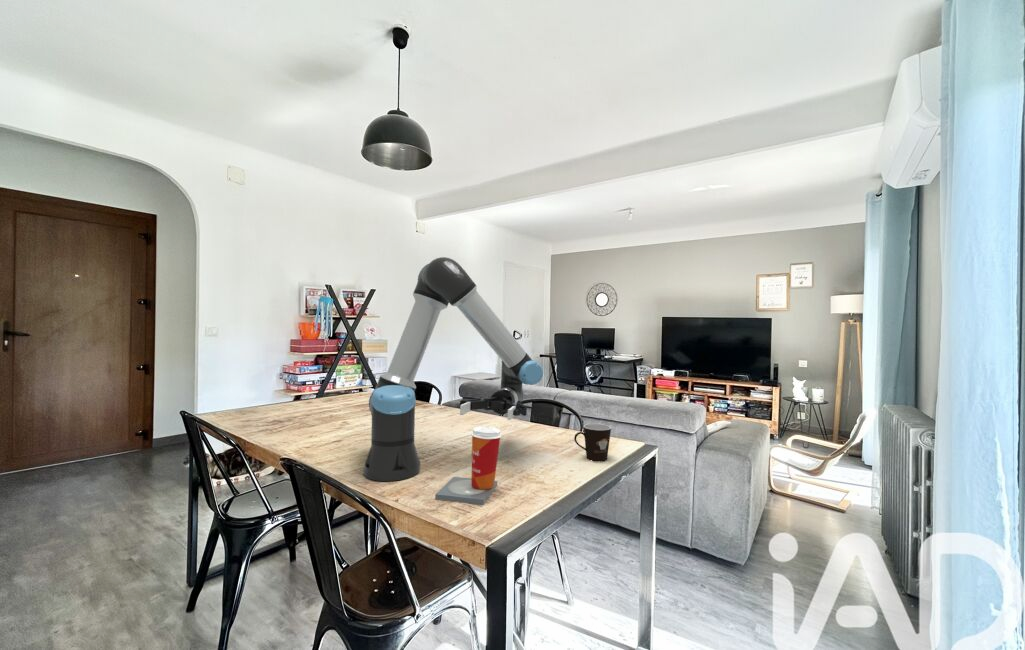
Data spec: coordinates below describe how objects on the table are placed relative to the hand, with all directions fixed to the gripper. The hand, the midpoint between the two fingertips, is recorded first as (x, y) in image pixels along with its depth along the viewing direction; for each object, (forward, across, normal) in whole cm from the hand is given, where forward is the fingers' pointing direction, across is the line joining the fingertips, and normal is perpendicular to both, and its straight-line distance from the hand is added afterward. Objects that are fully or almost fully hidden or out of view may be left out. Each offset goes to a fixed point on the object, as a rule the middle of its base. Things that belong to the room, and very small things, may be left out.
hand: (484, 412), depth 114 cm
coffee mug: (-26, -29, -16) cm, 42 cm away
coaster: (+10, 0, -18) cm, 21 cm away
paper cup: (+9, -3, -17) cm, 19 cm away
